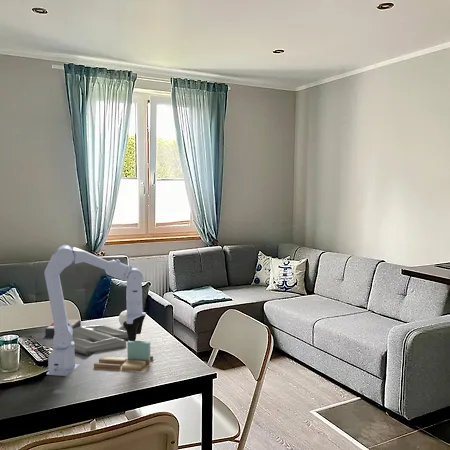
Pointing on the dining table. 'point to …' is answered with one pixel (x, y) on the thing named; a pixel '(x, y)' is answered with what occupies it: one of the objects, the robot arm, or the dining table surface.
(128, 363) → the oak offcut
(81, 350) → the emblem
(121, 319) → the geometric ball
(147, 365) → the rack
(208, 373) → the dining table surface
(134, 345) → the teal panel
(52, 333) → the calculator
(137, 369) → the tan flat block
